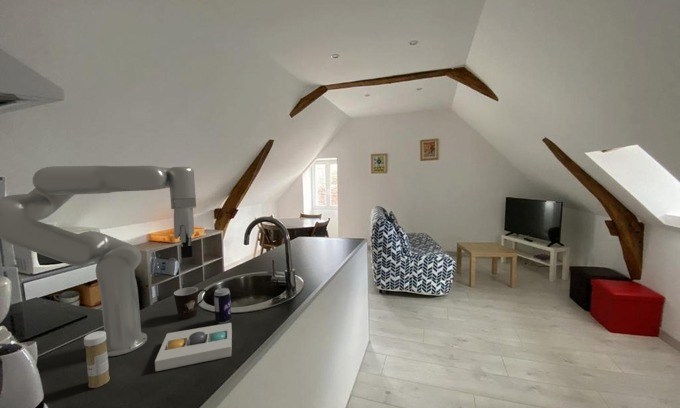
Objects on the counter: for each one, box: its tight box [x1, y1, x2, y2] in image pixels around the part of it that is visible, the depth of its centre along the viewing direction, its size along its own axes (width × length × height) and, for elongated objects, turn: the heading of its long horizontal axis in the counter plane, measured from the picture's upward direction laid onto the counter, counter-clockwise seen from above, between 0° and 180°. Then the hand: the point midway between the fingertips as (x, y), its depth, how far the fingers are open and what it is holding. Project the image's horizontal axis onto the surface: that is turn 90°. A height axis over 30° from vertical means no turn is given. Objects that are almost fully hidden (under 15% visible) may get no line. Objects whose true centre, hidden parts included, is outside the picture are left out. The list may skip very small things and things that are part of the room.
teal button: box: [210, 332, 225, 342], centre depth 96 cm, size 4×4×2 cm
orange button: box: [168, 339, 185, 350], centre depth 92 cm, size 4×4×2 cm
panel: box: [154, 322, 233, 372], centre depth 94 cm, size 20×16×3 cm
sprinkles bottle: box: [83, 330, 111, 389], centre depth 79 cm, size 5×5×13 cm
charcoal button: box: [189, 332, 205, 346], centre depth 94 cm, size 4×4×2 cm
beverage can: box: [213, 287, 232, 325], centre depth 112 cm, size 6×6×12 cm
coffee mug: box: [173, 286, 208, 320], centre depth 118 cm, size 12×9×10 cm
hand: (187, 256), depth 102 cm, fingers closed
